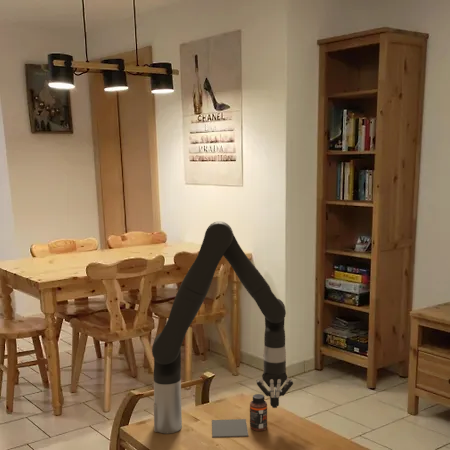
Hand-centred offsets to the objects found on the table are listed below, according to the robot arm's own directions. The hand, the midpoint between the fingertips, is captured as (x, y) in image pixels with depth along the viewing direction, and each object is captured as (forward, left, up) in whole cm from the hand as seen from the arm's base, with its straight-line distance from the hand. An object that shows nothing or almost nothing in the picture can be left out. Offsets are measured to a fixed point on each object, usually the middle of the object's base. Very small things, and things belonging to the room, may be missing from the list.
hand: (274, 406), depth 192 cm
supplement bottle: (-5, 0, -8) cm, 9 cm away
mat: (-15, 0, -7) cm, 17 cm away
